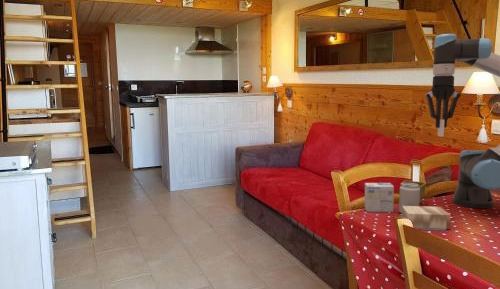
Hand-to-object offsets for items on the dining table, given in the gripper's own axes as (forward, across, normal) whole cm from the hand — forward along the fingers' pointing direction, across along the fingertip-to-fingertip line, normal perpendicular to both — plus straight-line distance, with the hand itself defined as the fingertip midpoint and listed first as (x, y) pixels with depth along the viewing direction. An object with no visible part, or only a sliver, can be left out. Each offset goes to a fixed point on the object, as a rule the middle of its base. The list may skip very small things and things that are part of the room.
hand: (440, 136), depth 160 cm
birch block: (+28, -2, -18) cm, 33 cm away
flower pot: (+31, -7, +10) cm, 33 cm away
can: (+31, -12, -5) cm, 33 cm away
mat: (+30, -10, -18) cm, 37 cm away
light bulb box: (+31, -23, -1) cm, 38 cm away
